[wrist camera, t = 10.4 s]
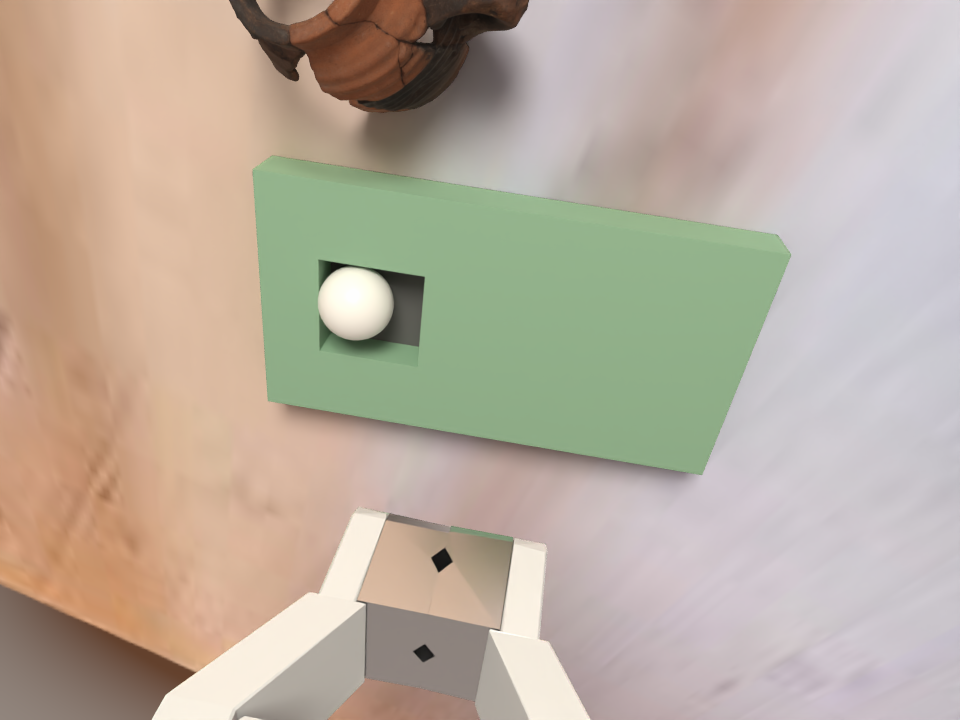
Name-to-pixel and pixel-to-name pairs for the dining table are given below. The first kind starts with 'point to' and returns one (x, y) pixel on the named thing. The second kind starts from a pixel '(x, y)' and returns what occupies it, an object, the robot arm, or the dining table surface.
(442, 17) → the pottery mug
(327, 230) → the green board
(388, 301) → the ball
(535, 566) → the robot arm
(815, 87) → the dining table surface
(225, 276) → the dining table surface
